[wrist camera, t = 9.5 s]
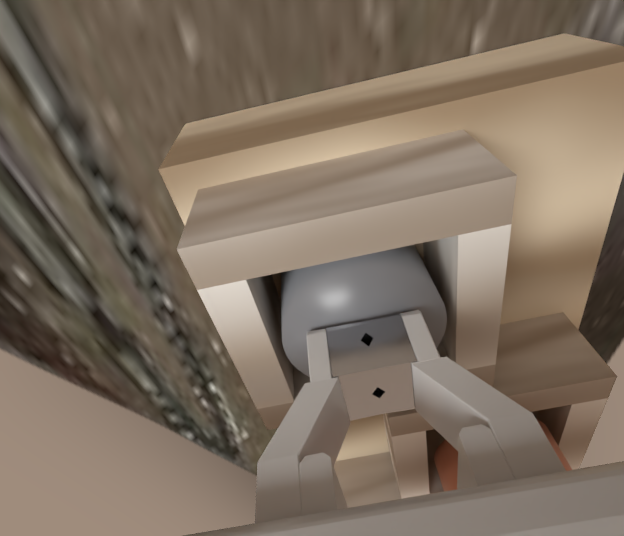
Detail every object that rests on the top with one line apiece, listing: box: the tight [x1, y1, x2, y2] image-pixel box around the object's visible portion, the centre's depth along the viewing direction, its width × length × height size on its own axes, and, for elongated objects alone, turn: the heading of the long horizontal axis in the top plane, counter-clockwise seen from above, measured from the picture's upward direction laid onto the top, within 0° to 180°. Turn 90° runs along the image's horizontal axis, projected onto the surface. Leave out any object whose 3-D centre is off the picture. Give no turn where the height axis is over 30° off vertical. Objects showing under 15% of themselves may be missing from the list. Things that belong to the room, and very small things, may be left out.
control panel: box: [159, 33, 624, 508], centre depth 18 cm, size 25×13×7 cm, turn 12°
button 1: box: [281, 245, 447, 377], centre depth 12 cm, size 4×4×3 cm
